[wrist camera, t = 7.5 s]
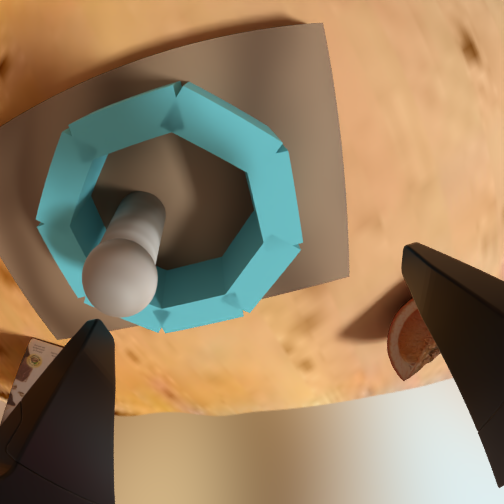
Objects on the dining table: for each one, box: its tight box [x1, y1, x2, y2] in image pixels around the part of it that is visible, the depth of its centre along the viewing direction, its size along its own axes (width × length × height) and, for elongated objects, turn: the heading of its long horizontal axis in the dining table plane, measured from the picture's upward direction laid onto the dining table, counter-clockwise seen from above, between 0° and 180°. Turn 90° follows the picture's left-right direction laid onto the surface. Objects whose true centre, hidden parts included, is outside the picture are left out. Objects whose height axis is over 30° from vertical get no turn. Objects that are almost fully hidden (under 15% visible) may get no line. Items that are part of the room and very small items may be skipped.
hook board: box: [0, 23, 349, 340], centre depth 13 cm, size 20×14×8 cm
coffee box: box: [0, 338, 63, 425], centre depth 17 cm, size 9×6×16 cm
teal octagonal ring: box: [36, 81, 303, 333], centre depth 14 cm, size 11×11×3 cm
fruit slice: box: [387, 298, 441, 381], centre depth 22 cm, size 8×7×5 cm
